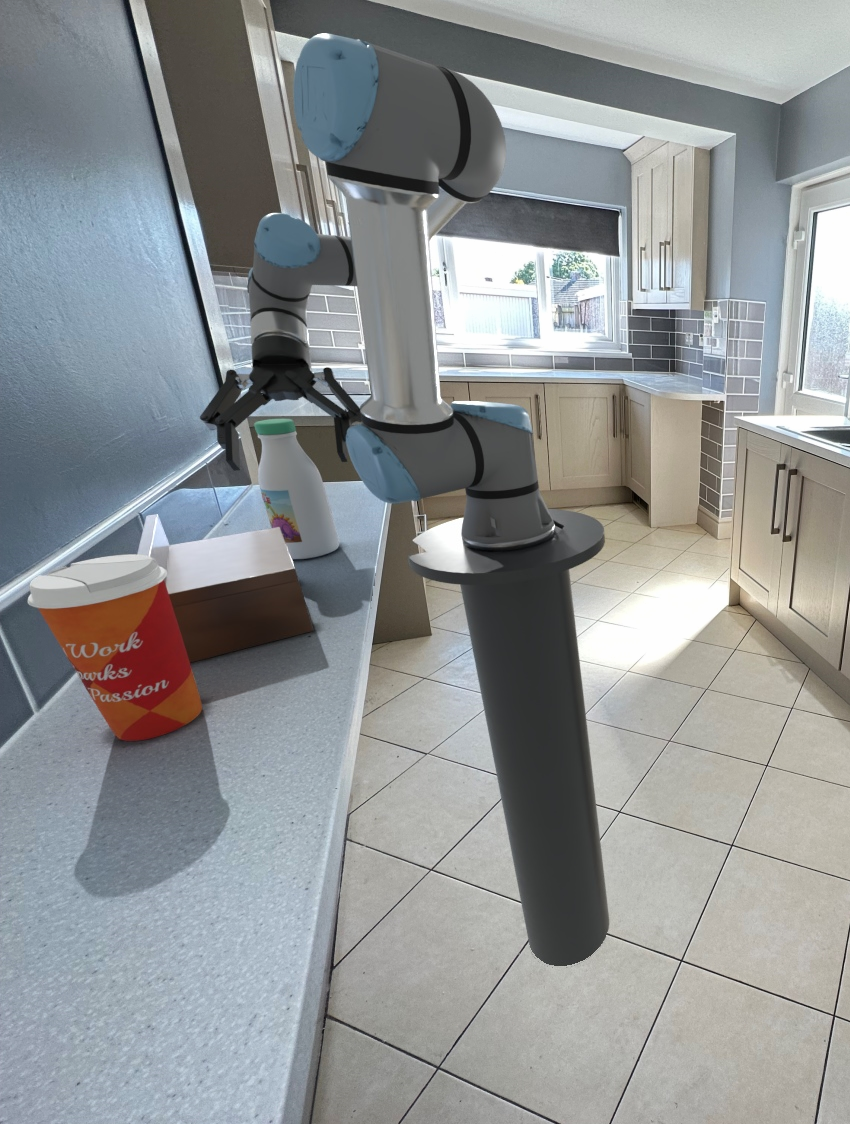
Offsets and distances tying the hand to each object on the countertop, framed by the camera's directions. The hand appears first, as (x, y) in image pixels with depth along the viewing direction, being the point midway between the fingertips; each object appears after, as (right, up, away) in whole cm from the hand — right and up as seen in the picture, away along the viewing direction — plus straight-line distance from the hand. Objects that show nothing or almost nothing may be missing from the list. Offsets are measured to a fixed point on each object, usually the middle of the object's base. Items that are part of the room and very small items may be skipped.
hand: (289, 461), depth 91 cm
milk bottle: (+1, -14, +3) cm, 14 cm away
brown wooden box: (+8, -22, -17) cm, 29 cm away
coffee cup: (+15, -30, -35) cm, 49 cm away
